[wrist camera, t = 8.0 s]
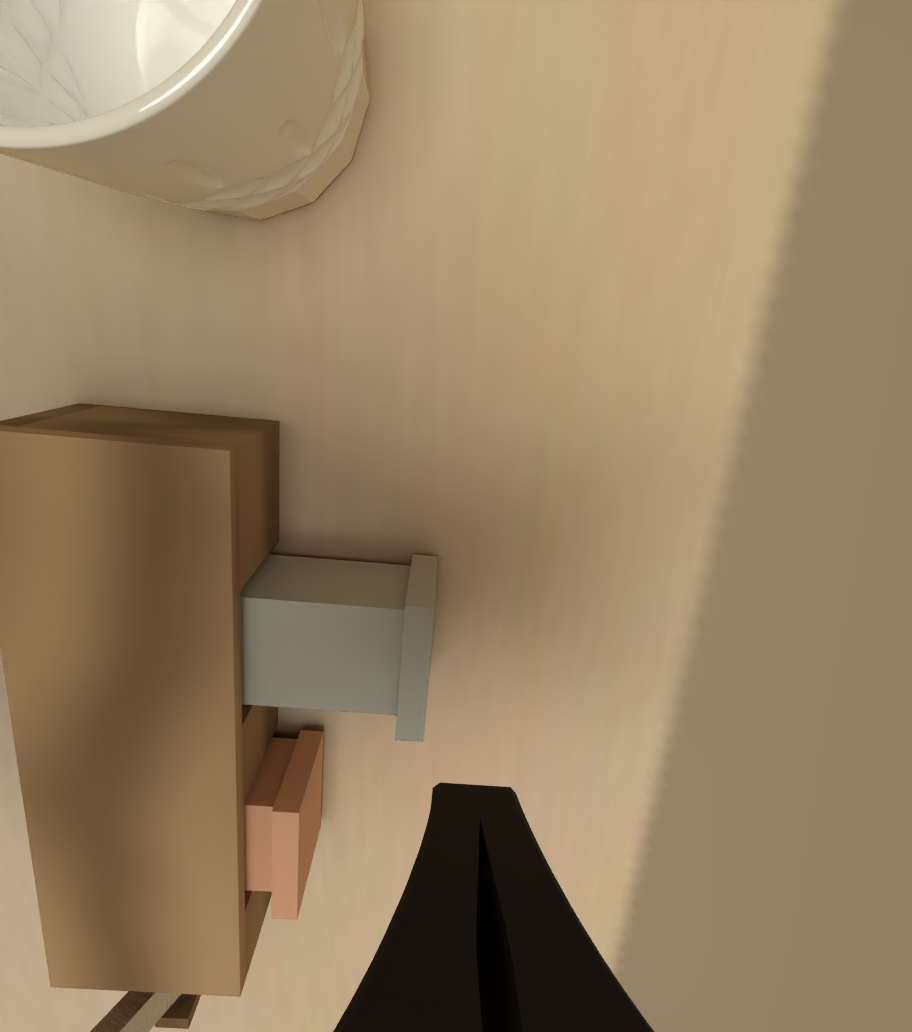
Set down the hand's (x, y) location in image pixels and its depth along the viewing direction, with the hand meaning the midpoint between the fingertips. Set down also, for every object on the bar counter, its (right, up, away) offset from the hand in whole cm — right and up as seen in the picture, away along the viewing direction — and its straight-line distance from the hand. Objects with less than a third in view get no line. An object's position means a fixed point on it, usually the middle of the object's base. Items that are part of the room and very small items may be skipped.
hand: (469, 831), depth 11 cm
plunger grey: (-5, +3, +10) cm, 11 cm away
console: (-10, -2, +11) cm, 15 cm away
